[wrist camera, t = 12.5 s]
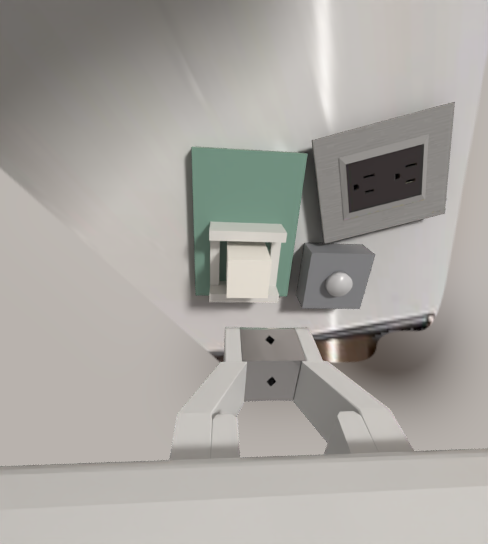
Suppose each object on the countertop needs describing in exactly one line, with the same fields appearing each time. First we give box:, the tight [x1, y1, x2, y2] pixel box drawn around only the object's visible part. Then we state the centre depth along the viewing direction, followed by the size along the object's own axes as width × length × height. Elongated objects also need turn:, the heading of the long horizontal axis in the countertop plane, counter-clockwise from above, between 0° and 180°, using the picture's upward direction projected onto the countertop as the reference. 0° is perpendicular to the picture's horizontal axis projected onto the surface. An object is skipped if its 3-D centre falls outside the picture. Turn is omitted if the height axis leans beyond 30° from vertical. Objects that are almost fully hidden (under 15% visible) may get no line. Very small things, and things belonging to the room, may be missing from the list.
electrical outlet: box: [312, 102, 455, 243], centre depth 28 cm, size 13×10×2 cm
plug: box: [226, 241, 272, 298], centre depth 28 cm, size 4×4×5 cm
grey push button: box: [296, 243, 375, 309], centre depth 32 cm, size 7×7×4 cm
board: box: [192, 147, 308, 303], centre depth 29 cm, size 16×11×4 cm
